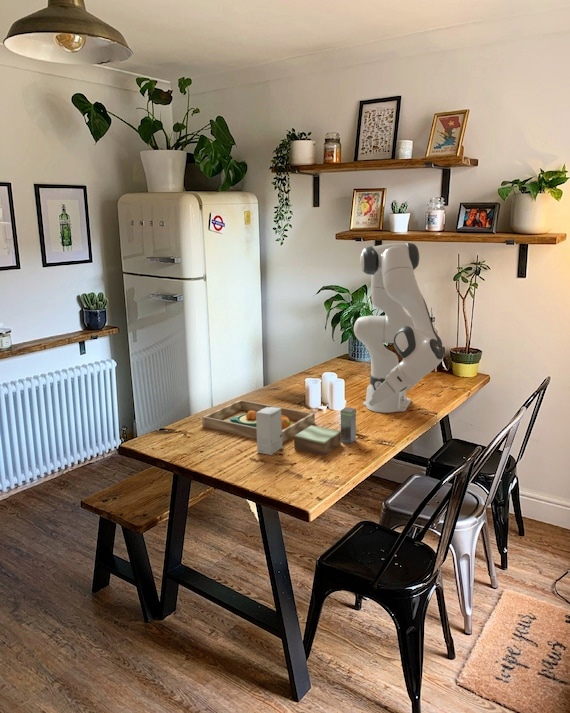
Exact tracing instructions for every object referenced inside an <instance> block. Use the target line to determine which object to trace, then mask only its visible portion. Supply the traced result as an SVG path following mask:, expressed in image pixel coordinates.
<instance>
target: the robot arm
mask: <svg viewBox="0 0 570 713" xmlns="http://www.w3.org/2000/svg"><path fill="white" fill-rule="evenodd" d="M359 256H360V257H359V265H360V267H361V270H362V272H363V273H364V274H366V275H370V277H371V279H370V283H371V284H370V286H371V287H370V290H371V293H370V294H371V297H370V298H371V303H372V304H373V306H374V307H375V308H376V309H378V310H381V311H382V312H383V313H385V315H371V314H370V315H365V316H360V317H358V318H357V319H356V320H355V322H354V325H353V333H354V336H355V338H356V339H357V340H358V341H360V342H361V344H363V345H364V346H365V348H366V349H367V351H368V354H369V357H370V372H371V373H370V376H369V385H368V386H367V388H366V396H365V401H363V403H362V405H363V406H365V407H366V408H367V409H368V410H369V411H372V412H375V413H385V414H387V413H395V412H396V413H397V412H406V411H407V409H408V408H409V406H410V404H411V402H412V398H410V397H406V396H407V391H410V390H411V389H412V388H413V387H415V385H417V384H418V383H420V382H421V380H422V379H423V378H424V377H425V376H427V375H429V374H430V373H431V372H432V371H434V369H436V368H437V367H438V366H439V365H440V364H441V362H442V361H443V359H444V358H445V350H444V348H443V343H442V342H443V341H442V339H441V337H440V336H439V335H438V334H437V332H436V330H435V327H434V325H433V321H432V318H431V314H430V312H429V309H428V308H429V307H428V305H427V303H426V300H425V297H424V296H423V294H422V292H421V289H420V288H419V285H418V283H417V279H416V276H415V271H414V270H416V269H417V267H418V266H419V263H420V257H421V256H420V252H419V249H418V246H417V245H416V244H415V243H412V242H411V243H410V242H405V243H399V242H398V243H397V242H396V243H392V242H391V243H388V244H387V243H386V244H380V245H375V246H370V245H369V246H367V247H365V248H363V249H362V251H361V253H360V255H359ZM405 310H406V311H407V312H406V311H405ZM385 343H387V344H393V346H394V349H395V351H396V353H398V355H399V356H400V357H401V358H402V360H401V361H400V362H399V356H398V355H397V354H396V353H395V352H393V351H392V350H389V349H388V348H387V347H386V346H385Z"/></svg>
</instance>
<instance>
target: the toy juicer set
mask: <svg viewBox="0 0 570 713" xmlns="http://www.w3.org/2000/svg"><path fill="white" fill-rule="evenodd" d="M281 419H282V430H284V429H285V428H287V427H289V426H291V425H292V424H291V421H290V420H291V419H288V418H287V417H286V416H283V415H282V416H281ZM224 421H228V422H233V423H238V424H243V425H247V426H252V427H256V412H255V411H252V410H251V411H247V412H246V413H243V414H240V415H236V416H232V417H230V418H228V419H224Z"/></svg>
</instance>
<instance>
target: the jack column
mask: <svg viewBox="0 0 570 713" xmlns="http://www.w3.org/2000/svg"><path fill="white" fill-rule="evenodd" d="M339 414H340V431H341V443H344V444H348V445H352V444H353V443H355V442H356V439H357V435H356V434H357V433H356V432H357V409H356V408H351V407H347V406H345V407H344V408H342V409H340V413H339Z"/></svg>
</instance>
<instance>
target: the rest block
mask: <svg viewBox="0 0 570 713" xmlns="http://www.w3.org/2000/svg"><path fill="white" fill-rule="evenodd" d="M293 437H294V438H293V440H294V441H293V442H294V443H293V444H294V445H293V448H294V449H293V450H297V451H302V452H304V453H305V452H306V453H310V454H315V455H319V456H324V457H325V456H327V455H328V454H329V453H331V452H332V451H333V450H335V449H336V448H338V447H339V446H340V445H341V443H342V442H341V430H337V429H331V428H328V427H322V426H317V425H313V424H312V425H311V426H309V427H307V428H306V429H304V430H302V431H301V432H299V433H297V434H296V435H294V436H293Z"/></svg>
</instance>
